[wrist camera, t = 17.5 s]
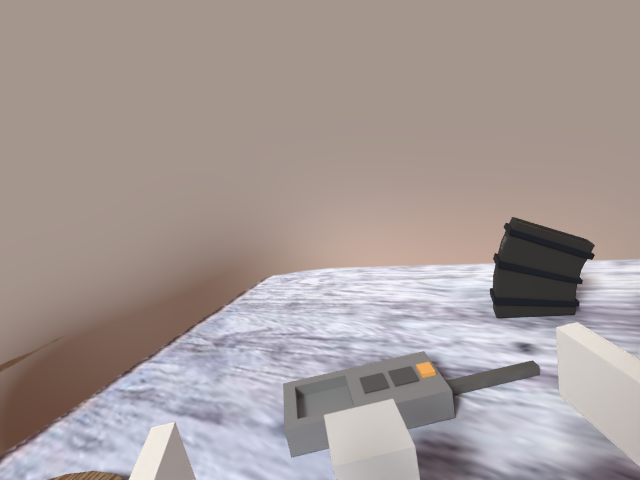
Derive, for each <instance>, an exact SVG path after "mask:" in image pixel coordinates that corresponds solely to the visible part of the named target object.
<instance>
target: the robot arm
mask: <svg viewBox="0 0 640 480" xmlns="http://www.w3.org/2000/svg"><path fill="white" fill-rule="evenodd" d="M556 332H557V354H558V376H559V395H560V396H561V397H562V398H563V399H564V400H565V401H566V402H568V403H569V404H570V405H571V406H572V407H573V408H574V409H575V410H577V411H578V412H579V413H580V414H581V415H582V416H583V417H584V418H586V419H587V420H588V421H589V422H590V423H591V424H592V425H593V426H594V427H596V428H597V429H598V430H599V431H600V432H601V433H602V434H603V435H605V436H606V437H607V438H608V439H609V440H610V441H611V442H612V443H613V444H615V445H616V446H617V447H618V448H619V449H620V450H621V451H622V452H624V453H625V454H626V455H627V456H628V457H629V458H630V459H631V460H632V461H634V462H635V463H636V464H637V465H638V466H639V467H640V360H639V359H638V358H636V357H634V356H633V355H631V354H629V353H628V352H626V351H624V350H623V349H621V348H619V347H618V346H616V345H614V344H613V343H611V342H609V341H608V340H606V339H604V338H603V337H601V336H599V335H598V334H596V333H594V332H593V331H591V330H589V329H588V328H586V327H584V326H583V325H581V324H579V323H578V322H576V323H572V324H568V325H564V326H560V327H556ZM129 480H196V478H195V476H194V473H193V470H192V467H191V464H190V462H189V459H188V456H187V453H186V451H185V448H184V445H183V442H182V440H181V437H180V434H179V431H178V429H177V426H176V423H175V422H172V423H168V424H164V425H160V426H156V427H152V428H151V430H150V432H149V435H148V437H147V439H146V441H145V444H144V446H143V448H142V451H141V453H140V455H139V457H138V460H137V462H136V464H135V467H134V469H133V471H132V473H131V476H130V478H129Z"/></svg>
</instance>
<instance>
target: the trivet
mask: <svg viewBox="0 0 640 480" xmlns="http://www.w3.org/2000/svg"><path fill="white" fill-rule="evenodd" d="M49 480H125V479H123V478H121V477H120V476H118V475H116V474H110V473H104V472H97V471H90V472H81V473H73V474H65V475H62V476H59V477H56V478H52V479H49Z"/></svg>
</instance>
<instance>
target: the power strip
mask: <svg viewBox="0 0 640 480" xmlns="http://www.w3.org/2000/svg"><path fill="white" fill-rule="evenodd" d="M537 375H539V366H538V365H537V364H536V363H535V362H534V361H528V362H524V363H520V364H516V365H511V366H507V367H503V368H499V369H494V370H490V371H486V372H482V373H477V374H473V375H469V376H465V377H460V378H456V379H452V380H448V381H445V380H444V378H443V377H442V376H441V374H440V373H439V371H438V370H437V369H436V367H435V366H434V364H433V363H432V362H431V360H430V359H429V357H428V356H427V355H426V353H425V352H424V351H423V352H419V353H415V354H410V355H406V356H402V357H397V358H393V359H389V360H384V361H380V362H375V363H371V364H367V365H362V366H358V367H354V368H349V369H345V370H341V371H336V372H332V373H328V374H323V375H319V376H315V377H310V378H306V379H302V380H297V381H293V382H288V383H284V384H283V388H284V426H285V433H286V437H287V441H288V445H289V449H290V453H291V457H295V456H299V455H303V454H307V453H311V452H315V451H319V450H324V449H328V448H329V442H328V436H327V430H326V425H325V419H324V415H326V414H330V413H334V412H338V411H343V410H347V409H351V408H355V407H360V406H364V405H368V404H372V403H377V402H381V401H385V400H389V399H393V400H394V402H395V404H396V406H397V408H398V410H399V413H400V415H401V417H402V419H403V421H404V423H405V426H406V428H407V429H411V428H415V427H419V426H423V425H427V424H431V423H435V422H440V421H444V420H448V419H452V418H455V413H454V404H453V395H457V394H461V393H465V392H469V391H473V390H478V389H482V388H486V387H490V386H494V385H499V384H503V383H507V382H511V381H515V380H520V379H524V378H528V377H532V376H537Z"/></svg>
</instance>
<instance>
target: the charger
mask: <svg viewBox="0 0 640 480" xmlns="http://www.w3.org/2000/svg"><path fill="white" fill-rule="evenodd" d="M324 419H325V425H326V430H327V436H328V442H329V448H330V453H331V459H332V465H333V470H334V474H335V479H336V480H420V476H419V470H418V463H417V456H416V449H415V445H414V443H413V441H412V439H411V437H410V434H409V432H408V430H407V428H406V426H405V423H404V421H403V419H402V417H401V415H400V413H399V410H398V408H397V406H396V404H395V402H394V400H393V399H389V400H385V401H381V402H377V403H372V404H368V405H364V406H360V407H355V408H351V409H347V410H343V411H338V412H334V413H330V414H326V415H324Z"/></svg>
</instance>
